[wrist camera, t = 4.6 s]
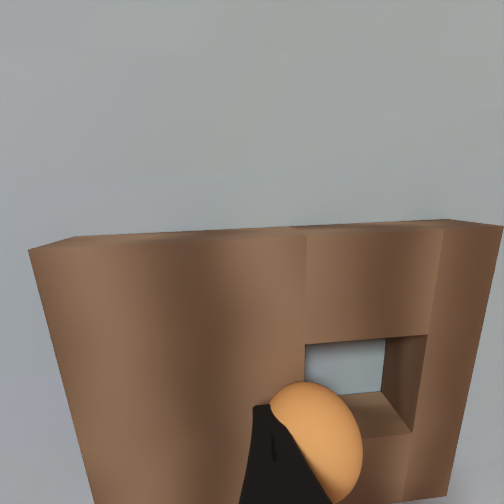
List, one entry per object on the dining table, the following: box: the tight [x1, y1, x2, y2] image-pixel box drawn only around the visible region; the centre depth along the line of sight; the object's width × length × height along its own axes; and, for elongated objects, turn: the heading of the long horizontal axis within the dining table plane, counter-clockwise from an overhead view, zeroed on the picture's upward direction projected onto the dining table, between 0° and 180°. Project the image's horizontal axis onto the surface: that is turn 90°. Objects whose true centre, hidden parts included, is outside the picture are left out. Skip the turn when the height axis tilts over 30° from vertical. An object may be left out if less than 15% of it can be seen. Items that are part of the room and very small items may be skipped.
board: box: [28, 219, 504, 504], centre depth 12 cm, size 17×14×2 cm
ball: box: [269, 382, 363, 504], centre depth 9 cm, size 4×4×4 cm
